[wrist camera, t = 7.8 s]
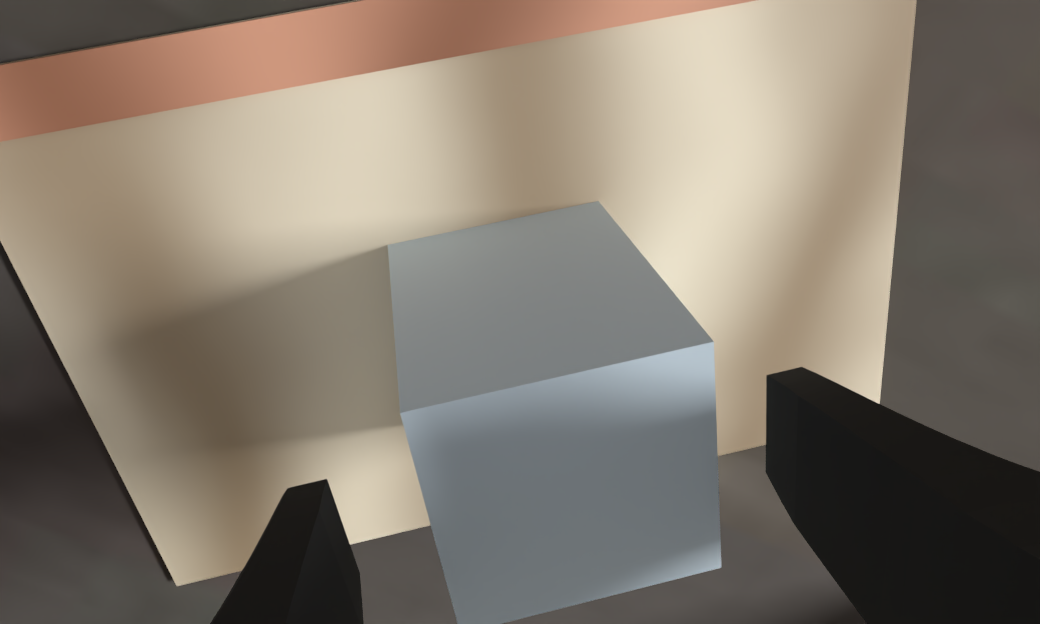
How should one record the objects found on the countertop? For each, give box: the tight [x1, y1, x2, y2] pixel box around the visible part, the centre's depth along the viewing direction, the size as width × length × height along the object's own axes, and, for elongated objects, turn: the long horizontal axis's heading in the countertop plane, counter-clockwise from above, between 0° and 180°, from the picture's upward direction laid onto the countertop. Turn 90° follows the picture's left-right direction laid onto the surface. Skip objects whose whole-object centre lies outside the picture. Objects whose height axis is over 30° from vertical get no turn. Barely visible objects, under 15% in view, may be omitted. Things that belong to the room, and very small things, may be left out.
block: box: [388, 201, 721, 624], centre depth 14 cm, size 4×4×6 cm
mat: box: [0, 0, 917, 586], centre depth 16 cm, size 18×12×1 cm, turn 98°
